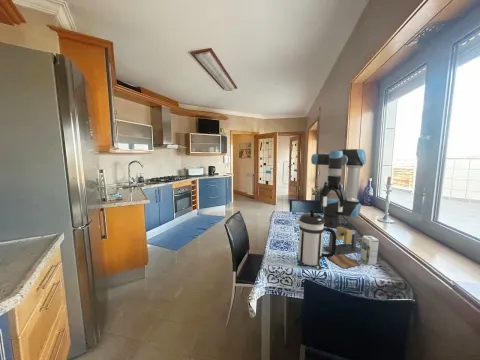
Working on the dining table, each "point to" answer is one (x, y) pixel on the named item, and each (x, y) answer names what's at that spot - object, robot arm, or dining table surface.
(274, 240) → the dining table surface
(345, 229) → the c link
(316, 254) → the coffee press
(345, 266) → the coaster
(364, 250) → the syrup box
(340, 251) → the stand
